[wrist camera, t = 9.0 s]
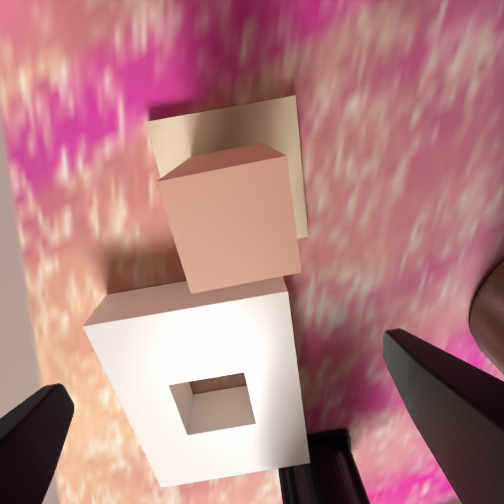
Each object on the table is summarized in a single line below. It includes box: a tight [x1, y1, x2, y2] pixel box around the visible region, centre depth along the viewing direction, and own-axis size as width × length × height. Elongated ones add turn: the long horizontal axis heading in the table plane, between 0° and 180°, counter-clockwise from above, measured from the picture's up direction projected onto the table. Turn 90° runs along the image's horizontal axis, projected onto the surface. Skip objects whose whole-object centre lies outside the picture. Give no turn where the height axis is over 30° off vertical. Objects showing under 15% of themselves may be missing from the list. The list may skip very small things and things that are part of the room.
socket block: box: [83, 276, 310, 488], centre depth 22 cm, size 12×16×4 cm
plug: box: [156, 142, 302, 294], centre depth 13 cm, size 4×4×8 cm
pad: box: [145, 95, 308, 239], centre depth 17 cm, size 8×8×1 cm
